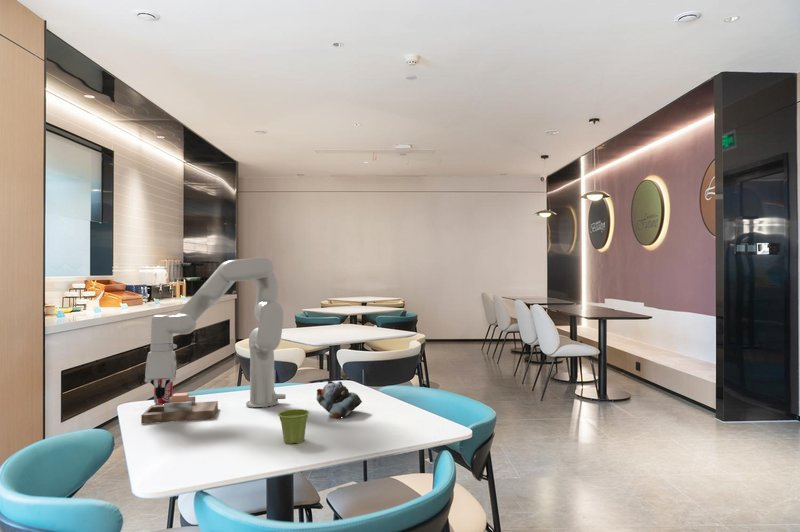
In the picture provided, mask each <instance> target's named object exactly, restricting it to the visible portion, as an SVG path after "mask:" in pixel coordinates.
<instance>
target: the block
mask: <svg viewBox="0 0 800 532" xmlns="http://www.w3.org/2000/svg"><path fill="white" fill-rule="evenodd" d="M189 396H190V395H189V392H179V393H178V392H176V393H173V396H172V403H176V402H189Z"/></svg>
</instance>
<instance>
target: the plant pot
mask: <svg viewBox="0 0 800 532" xmlns="http://www.w3.org/2000/svg"><path fill="white" fill-rule="evenodd" d="M309 415H310V411H309V410H307V409H303V408H302V409H300V408H295V409H293V408H292V409H287V410H282V411H280V412H278V414H277V416H278V417H279V420H280V424H281V429H282V430H281V431H282V437H283V442H284V443H285V444H290V445H291V444H294V443H295V444H300V443H303V442H304V441H305V434H306V430H307V429H306V427H307V419H308V417H309Z"/></svg>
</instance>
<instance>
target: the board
mask: <svg viewBox="0 0 800 532" xmlns="http://www.w3.org/2000/svg"><path fill="white" fill-rule="evenodd" d="M218 403H219V401H217V400H214V401H199V402H198V401H197V402H196V395H192V396H191V395H189V402H176V403H172V397H170V403H165V404H164V405H157V404H154V405H153V404H152V405H150V406H149V407H148V408H147V410H145V411H144V412H143V413H142V414H141V420H140V422H141V423H147V424H157V423H156V422H160V423H171V422H170V421H174V422H185V420H188V421H197V420H200V419H201V420H212V419H211V418H214V419H215V416H216V414H217V412H216V411H218V409H219V406H218ZM141 423H140V424H141Z"/></svg>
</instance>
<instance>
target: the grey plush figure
mask: <svg viewBox="0 0 800 532" xmlns="http://www.w3.org/2000/svg"><path fill="white" fill-rule="evenodd" d="M316 401H317V402H318V404H319V405H320V406H321V407H322V408H323V409H324V410H325V411H326V412H328V413H329V414H330V416H331V417H332V418H333V417H334V418H333V419H335V418H336V419H341V417H343V419H345V417H347V416H348V415H350V414H351V413H352V412H353V411H354V410H355V409H356V408H358V407H359V406H360V405H361V404H362V403H363V400H362V399H361V397H360V396H359V395H358V394H357V393H355V392H350V391H349V389H348V388H347V386H345V385H343V382H342V381H341V380H340V381H337V382H334V381H332V380H328V382H327V383H326V384H325V385H324V387H323V388H317V389H316Z"/></svg>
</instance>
